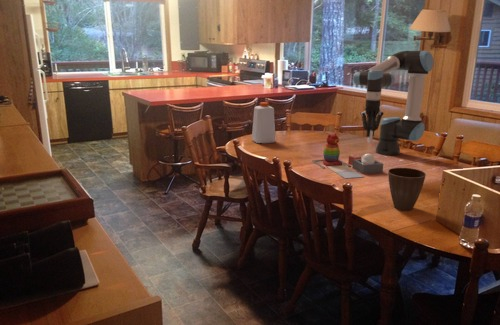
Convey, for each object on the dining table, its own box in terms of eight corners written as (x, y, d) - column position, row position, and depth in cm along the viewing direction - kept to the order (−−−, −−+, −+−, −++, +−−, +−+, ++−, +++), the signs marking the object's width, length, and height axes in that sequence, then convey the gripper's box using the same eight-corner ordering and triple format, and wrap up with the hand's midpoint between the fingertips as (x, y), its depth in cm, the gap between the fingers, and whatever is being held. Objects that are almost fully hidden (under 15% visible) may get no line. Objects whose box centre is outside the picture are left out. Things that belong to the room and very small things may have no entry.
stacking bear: (329, 167, 244) (331, 136, 239) (318, 162, 253) (320, 133, 248) (344, 164, 249) (346, 135, 244) (333, 160, 258) (334, 131, 253)
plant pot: (383, 211, 180) (387, 175, 175) (386, 199, 193) (389, 166, 189) (421, 216, 175) (426, 179, 170) (421, 204, 188) (425, 169, 184)
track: (338, 159, 261) (338, 158, 261) (369, 176, 226) (369, 176, 226) (311, 160, 257) (311, 160, 257) (339, 179, 222) (339, 178, 222)
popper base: (371, 166, 246) (372, 158, 244) (382, 172, 234) (383, 163, 233) (352, 168, 243) (353, 159, 241) (362, 174, 231) (363, 165, 230)
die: (354, 162, 254) (355, 153, 252) (360, 164, 250) (361, 155, 248) (348, 164, 251) (348, 154, 250) (354, 166, 247) (354, 156, 246)
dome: (369, 165, 242) (371, 151, 240) (376, 168, 236) (377, 154, 233) (358, 166, 240) (359, 152, 238) (365, 169, 234) (366, 155, 232)
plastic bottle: (269, 138, 317) (270, 100, 310) (277, 142, 303) (278, 103, 296) (250, 139, 313) (250, 101, 305) (257, 144, 299) (257, 104, 291)
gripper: (365, 100, 223) (362, 144, 229) (387, 100, 226) (383, 143, 232) (358, 98, 230) (355, 141, 236) (380, 98, 233) (376, 140, 239)
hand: (369, 142), depth 234 cm, fingers closed
